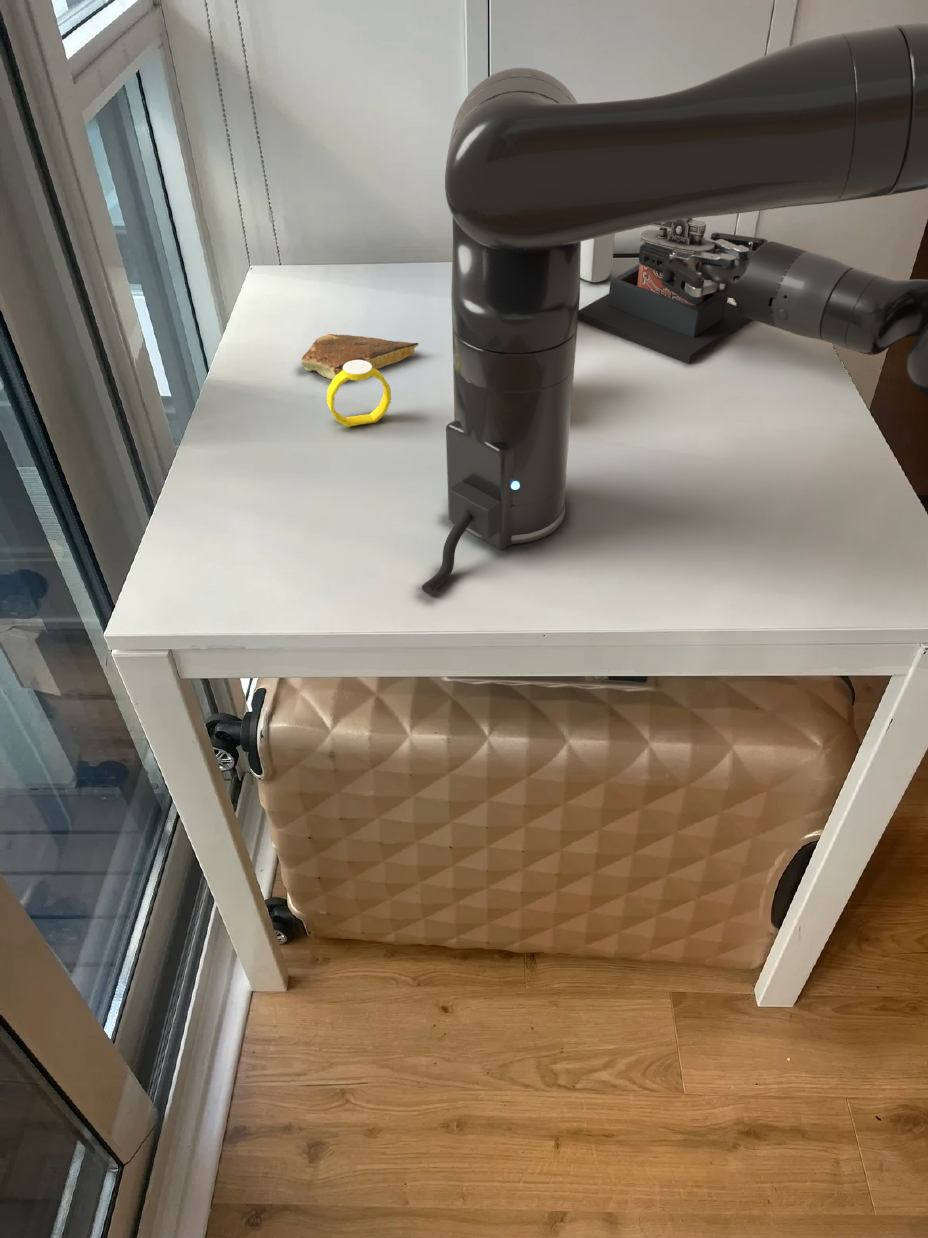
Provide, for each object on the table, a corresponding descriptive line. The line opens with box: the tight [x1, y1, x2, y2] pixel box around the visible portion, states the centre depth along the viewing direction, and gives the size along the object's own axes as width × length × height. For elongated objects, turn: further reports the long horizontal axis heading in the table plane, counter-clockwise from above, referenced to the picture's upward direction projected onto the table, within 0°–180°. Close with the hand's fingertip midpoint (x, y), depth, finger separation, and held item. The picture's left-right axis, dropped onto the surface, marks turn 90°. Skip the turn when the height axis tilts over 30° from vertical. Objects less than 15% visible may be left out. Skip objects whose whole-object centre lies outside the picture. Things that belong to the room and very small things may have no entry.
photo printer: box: [580, 233, 616, 283], centre depth 112 cm, size 10×4×12 cm, turn 39°
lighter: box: [637, 218, 715, 307], centre depth 101 cm, size 8×3×10 cm, turn 58°
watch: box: [326, 360, 392, 428], centre depth 90 cm, size 6×3×6 cm, turn 111°
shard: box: [300, 333, 419, 380], centre depth 99 cm, size 11×8×2 cm
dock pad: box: [578, 263, 754, 365], centre depth 105 cm, size 13×15×4 cm
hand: (653, 246), depth 102 cm, fingers closed on lighter, 3 cm apart
